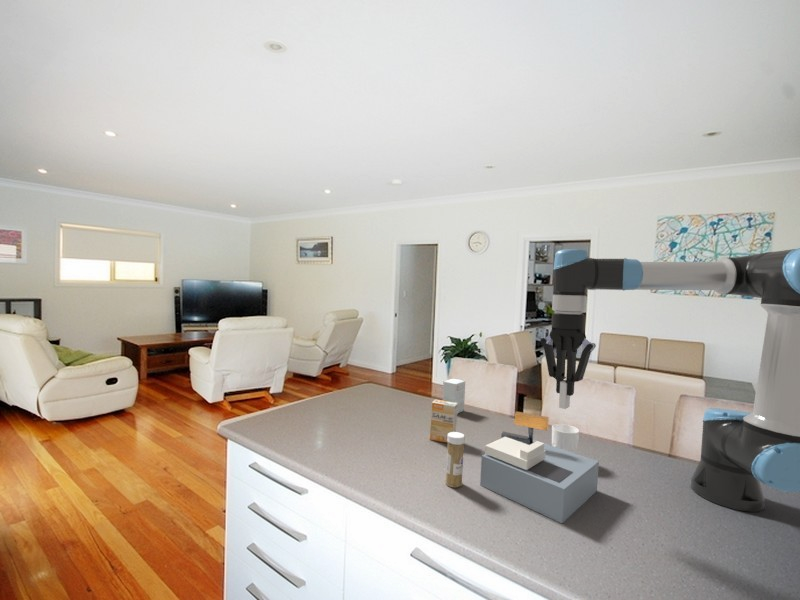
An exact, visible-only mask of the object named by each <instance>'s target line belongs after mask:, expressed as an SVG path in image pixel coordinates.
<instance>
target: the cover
mask: <svg viewBox="0 0 800 600" xmlns="http://www.w3.org/2000/svg"><path fill="white" fill-rule="evenodd" d="M544 443H545V442H542V441H539V440H536V442H534V443H532V444H531V445H528V444H525V443H522V442H519V441H516V440H514V439H511V438H508V437H503V438H499V439H497V440H495V441H493V442H490V443H487V444H486V445H485V446H484V454H487V455H490V456H492V457H495V458H497V459H500V460H502V461H505V462H507V463H510V464H512V465H515V466H517V467H520V468H522V469H525V470H528V469H529V468H531V467H533V466H534V465H536V464H538V463H539V462H541V461H542V460H544V459H545V452H546V451H545V450H544Z"/></svg>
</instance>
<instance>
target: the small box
mask: <svg viewBox="0 0 800 600" xmlns="http://www.w3.org/2000/svg"><path fill="white" fill-rule="evenodd" d="M442 384H443V385H442V401H448V402H454V403H458V408H457V415H458V414H459V413H461V412H465V398H466V397H465V396H466V395H465V394H466V380H462V379H458V378H450V379H447V380H444V381H443V383H442Z"/></svg>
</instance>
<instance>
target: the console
mask: <svg viewBox="0 0 800 600" xmlns="http://www.w3.org/2000/svg"><path fill="white" fill-rule="evenodd" d="M536 441H537V440H536V439H533V443H534V442H536ZM519 442H520V441H519ZM522 443H525V442H522ZM543 443H544V450H545V451H546V452H545V459H544V460H542V461H541V462H539V463H538V464H536V465H534V466H533V467H531V468H529V469H528V470H525V469H522V468H520V467H517V466H515V465H512V464H510V463H507V462H505V461H502V460H500V459H497V458H495V457H492V456H490V455H487V454H485V453H484V454H483V455H481V462H480V480H479V482H480V484H479V485H480V486H481V487H483V488H486V489H487V490H489V491H491V492H494V493H496V494H498V495H500V496H502V497H504V498H506V499H509V500H511V501H513V502H515V503H517V504H520V505H521V506H524V507H525V508H529V509H530V510H532V511H534V512H536V513H539V514H541V515H543V516H545V517H547V518H549V519H551V520H554V522H555V521H556V522H557V523H559V524H564V523H565V522H566V520H568V518H570V517H571V516H572V515H573V514H574V513H575V512H576V511H577V510H578V509H579V508H580V507H581V506H583V505H584V504H585V503H586V502H587V501H588V500H589V499H590V498H591V497H592V496H593V495H595V493H596V492H598V480H599V464H600V461H599V460H597V459H592V458H590V457H587V456H583V455H581V454H578V453H576V454H575V453H572V452H569V451H566V450H563V449H560V448H557V447H554V446H552V444H551V445H550V444H547V443H545V442H543ZM525 444H528V445H531V444H529V443H525Z"/></svg>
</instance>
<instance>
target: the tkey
mask: <svg viewBox="0 0 800 600" xmlns="http://www.w3.org/2000/svg"><path fill="white" fill-rule="evenodd" d="M549 419H550V418H549V416H543V415H538V414H533V413H528V412H522V411H516V410H515V413H514V423H513V425H517V426H521V427H527V428H528V430H527V435H523V434H517V433H513V432H509V431H508V432H507V431H502V432H501V436H500V437H501V438H503V437H508V438H511V439H514V440H516V441H520V442H525V443H529V444H532V443H533V440H534V429H537V430H541V431H549ZM501 438H500V439H501Z"/></svg>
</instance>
